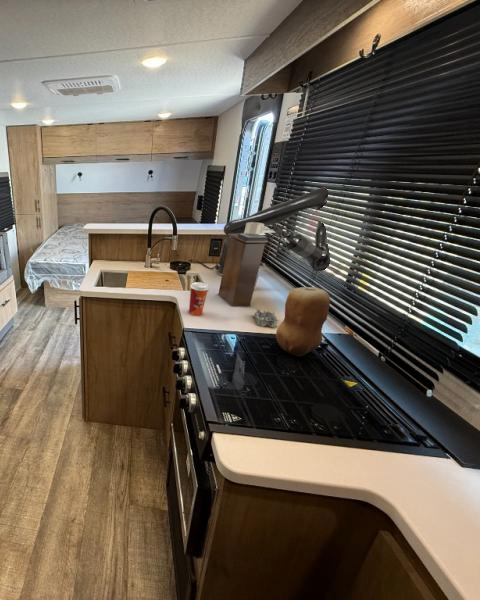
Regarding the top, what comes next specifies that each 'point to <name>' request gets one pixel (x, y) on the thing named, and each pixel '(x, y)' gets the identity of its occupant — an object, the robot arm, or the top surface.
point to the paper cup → (197, 298)
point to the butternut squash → (303, 320)
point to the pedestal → (240, 270)
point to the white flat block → (257, 228)
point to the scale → (252, 237)
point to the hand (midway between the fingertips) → (273, 227)
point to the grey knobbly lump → (265, 318)
